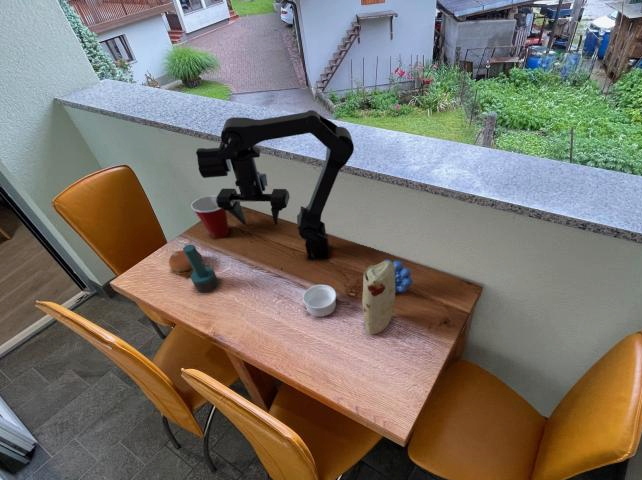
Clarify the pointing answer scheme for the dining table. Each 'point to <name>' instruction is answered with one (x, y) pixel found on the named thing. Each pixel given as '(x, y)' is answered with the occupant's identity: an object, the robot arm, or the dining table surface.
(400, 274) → the grapes
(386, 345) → the dining table surface
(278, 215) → the robot arm
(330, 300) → the ramekin
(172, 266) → the burger
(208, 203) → the plastic cup
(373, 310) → the food model
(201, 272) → the teal peg stand
